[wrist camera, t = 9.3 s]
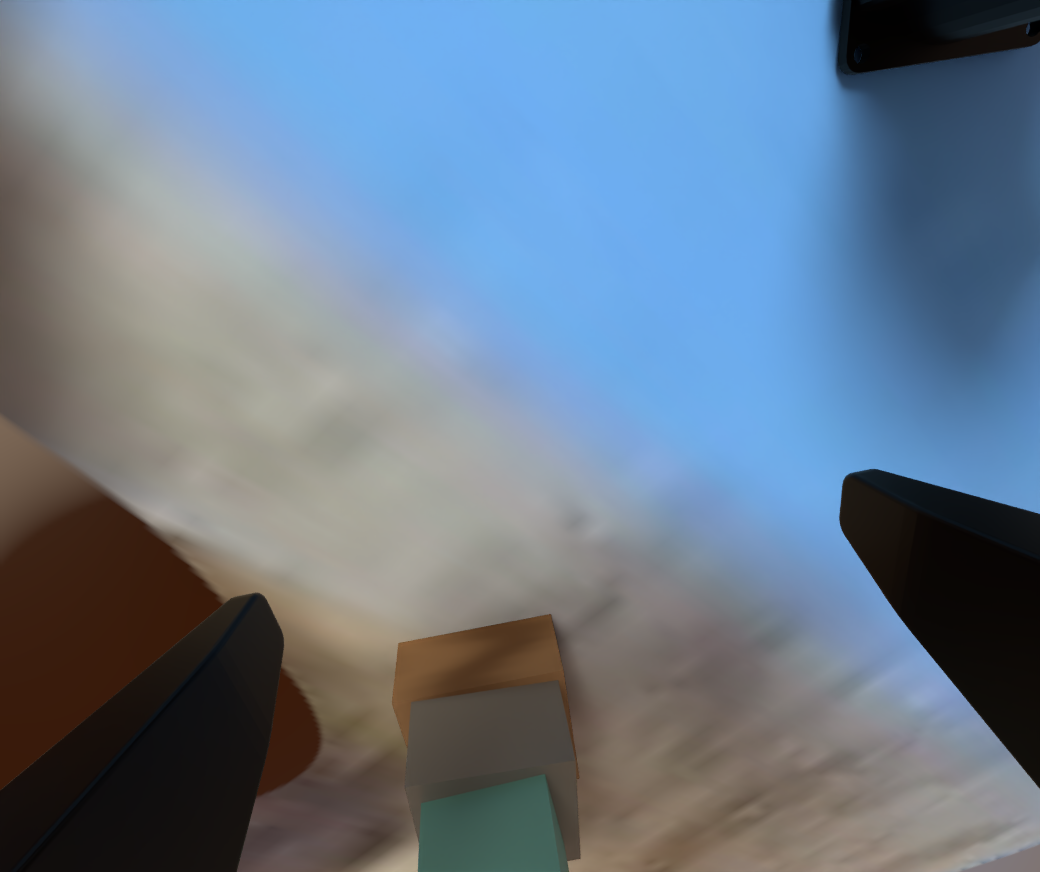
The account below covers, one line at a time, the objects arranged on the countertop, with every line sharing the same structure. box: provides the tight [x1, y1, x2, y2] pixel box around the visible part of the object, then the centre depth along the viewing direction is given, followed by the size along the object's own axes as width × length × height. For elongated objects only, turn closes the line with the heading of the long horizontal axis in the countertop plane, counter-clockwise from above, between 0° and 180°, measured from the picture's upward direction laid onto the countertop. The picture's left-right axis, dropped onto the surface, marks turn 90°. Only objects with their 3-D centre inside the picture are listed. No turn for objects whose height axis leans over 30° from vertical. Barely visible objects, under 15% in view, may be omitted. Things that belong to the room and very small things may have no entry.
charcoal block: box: [405, 680, 581, 861], centre depth 22 cm, size 6×6×4 cm
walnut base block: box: [392, 614, 579, 779], centre depth 26 cm, size 7×7×4 cm
